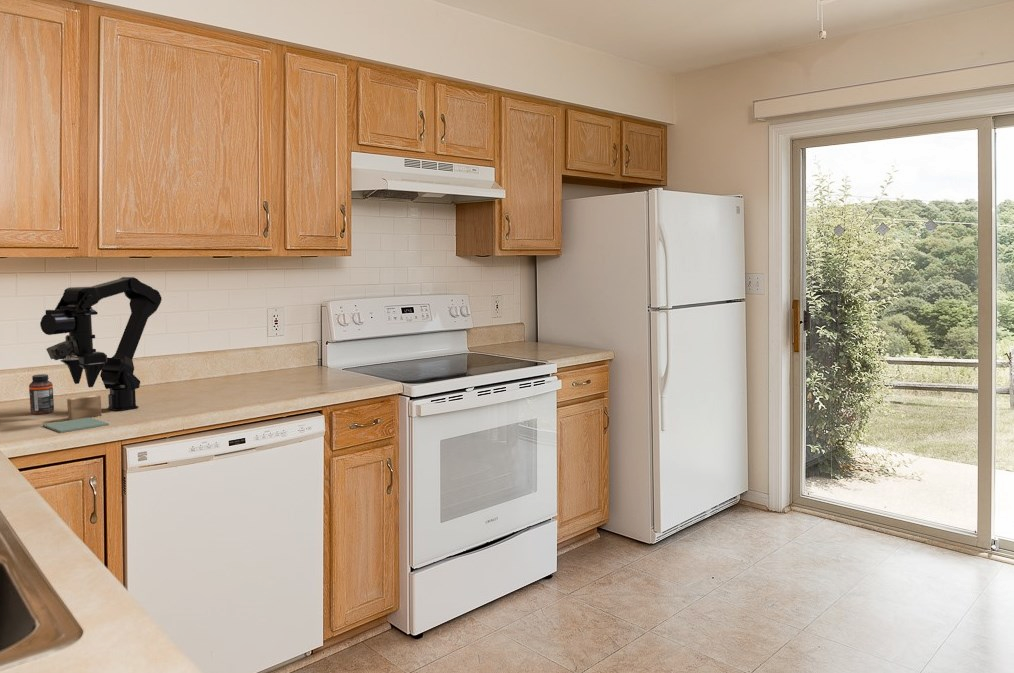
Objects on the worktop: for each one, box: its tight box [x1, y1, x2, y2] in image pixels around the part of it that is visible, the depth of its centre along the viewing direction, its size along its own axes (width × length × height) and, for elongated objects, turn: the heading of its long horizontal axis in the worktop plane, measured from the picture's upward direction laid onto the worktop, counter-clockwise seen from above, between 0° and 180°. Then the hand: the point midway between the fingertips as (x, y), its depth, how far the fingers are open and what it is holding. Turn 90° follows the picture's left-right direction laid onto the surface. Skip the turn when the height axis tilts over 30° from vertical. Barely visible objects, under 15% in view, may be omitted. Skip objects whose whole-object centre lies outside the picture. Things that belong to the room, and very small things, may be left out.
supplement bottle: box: [28, 373, 55, 415], centre depth 217 cm, size 6×6×11 cm
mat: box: [42, 417, 109, 434], centre depth 201 cm, size 12×12×1 cm
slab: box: [66, 394, 102, 421], centre depth 211 cm, size 8×2×6 cm, turn 142°
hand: (83, 385), depth 210 cm, fingers open, 9 cm apart
